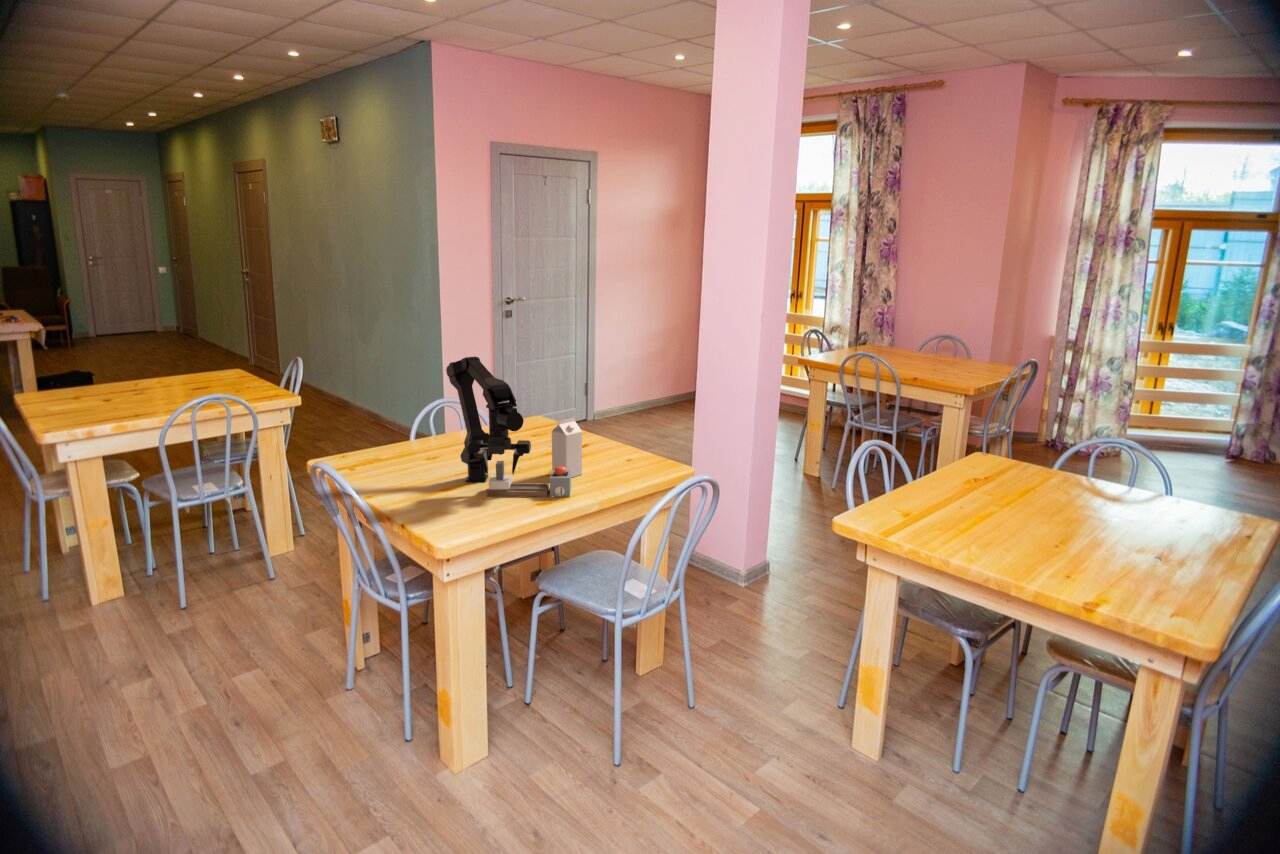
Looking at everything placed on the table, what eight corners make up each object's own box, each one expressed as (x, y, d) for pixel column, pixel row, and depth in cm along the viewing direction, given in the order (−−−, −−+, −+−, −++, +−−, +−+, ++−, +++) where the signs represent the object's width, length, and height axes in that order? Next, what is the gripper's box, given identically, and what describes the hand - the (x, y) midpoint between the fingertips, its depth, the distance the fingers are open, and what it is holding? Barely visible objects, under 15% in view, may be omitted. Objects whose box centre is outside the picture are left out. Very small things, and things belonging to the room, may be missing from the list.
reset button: (555, 475, 236) (555, 466, 236) (566, 475, 237) (566, 466, 236) (554, 478, 233) (554, 469, 232) (566, 478, 233) (565, 469, 232)
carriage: (492, 481, 238) (491, 459, 236) (511, 481, 238) (511, 459, 236) (489, 489, 231) (488, 465, 229) (508, 489, 232) (508, 465, 230)
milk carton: (552, 474, 253) (551, 419, 249) (568, 470, 258) (567, 415, 254) (566, 479, 249) (565, 423, 244) (582, 474, 254) (582, 419, 249)
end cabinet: (552, 488, 240) (551, 470, 238) (571, 488, 240) (570, 470, 239) (549, 497, 232) (549, 478, 230) (569, 497, 232) (569, 478, 230)
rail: (491, 488, 239) (491, 481, 239) (548, 488, 240) (548, 481, 239) (487, 496, 231) (487, 489, 231) (546, 496, 232) (546, 490, 231)
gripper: (462, 431, 222) (464, 481, 226) (526, 431, 223) (527, 482, 226) (469, 421, 233) (471, 470, 236) (530, 422, 233) (531, 470, 237)
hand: (500, 473), depth 234 cm, fingers open, 8 cm apart
